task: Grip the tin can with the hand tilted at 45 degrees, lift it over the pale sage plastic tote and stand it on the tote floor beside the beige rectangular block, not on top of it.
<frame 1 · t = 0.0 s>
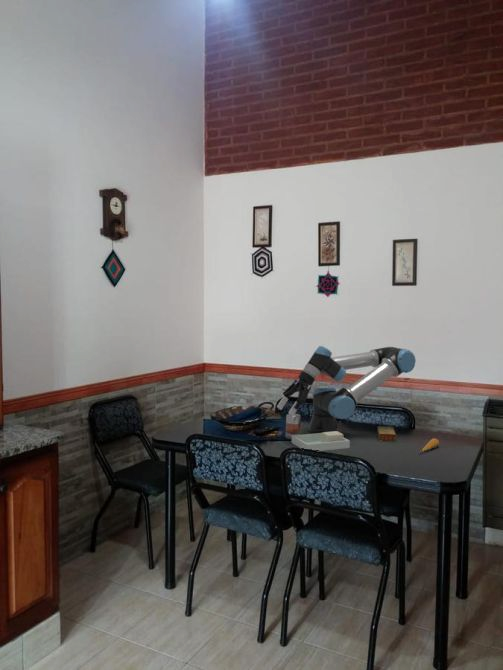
hand: (284, 411, 264), 15 cm above the table, tool tilted 35°, fingers open, 13 cm apart
tote: (320, 447, 259), on the table
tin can: (292, 439, 272), on the table
beige rectangular block: (332, 445, 258), point 1 cm above the table, touching tote
carton: (386, 438, 279), on the table
carrot: (426, 451, 258), on the table
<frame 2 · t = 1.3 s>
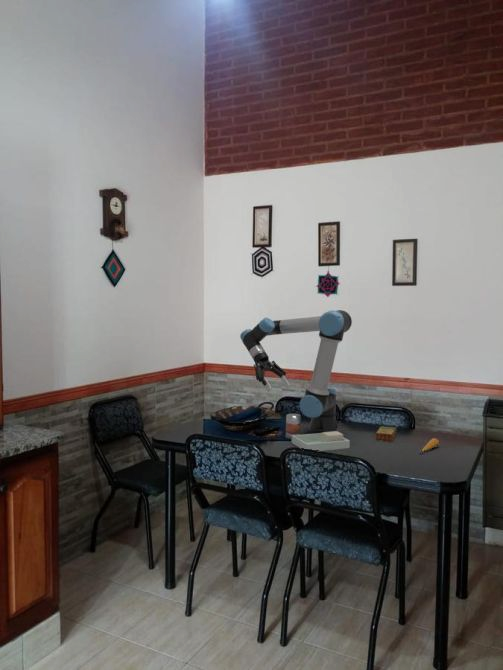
hand: (279, 388, 277), 24 cm above the table, tool tilted 45°, fingers open, 13 cm apart
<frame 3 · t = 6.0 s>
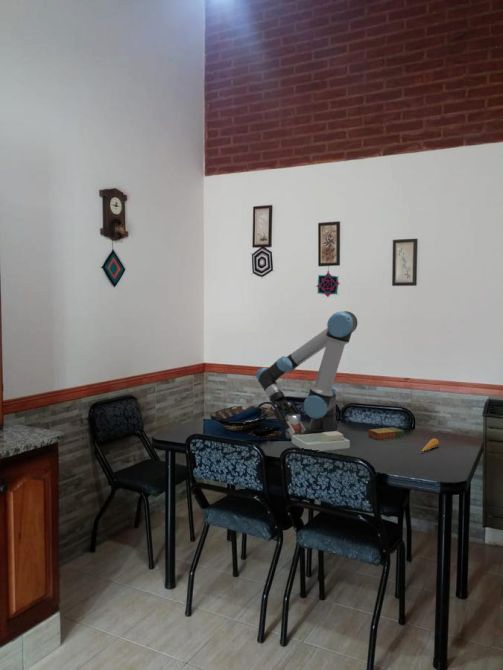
hand: (298, 432, 269), 4 cm above the table, tool tilted 45°, fingers closed on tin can, 7 cm apart
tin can: (292, 439, 272), on the table, touching gripper
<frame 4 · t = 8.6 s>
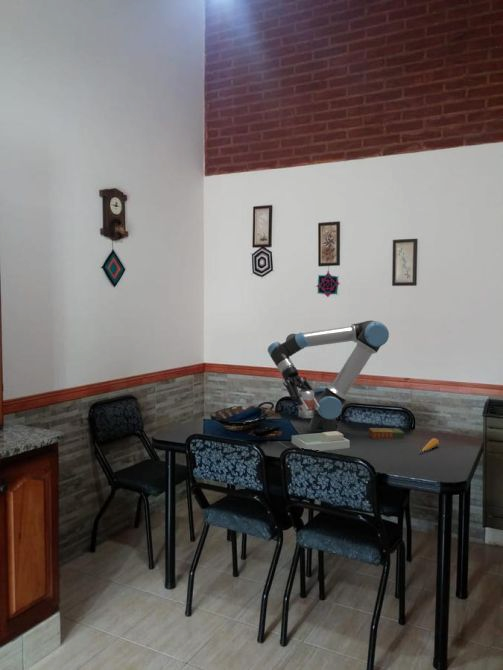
hand: (312, 409, 256), 18 cm above the table, tool tilted 45°, fingers closed on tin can, 7 cm apart
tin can: (306, 416, 259), point 14 cm above the table, touching gripper
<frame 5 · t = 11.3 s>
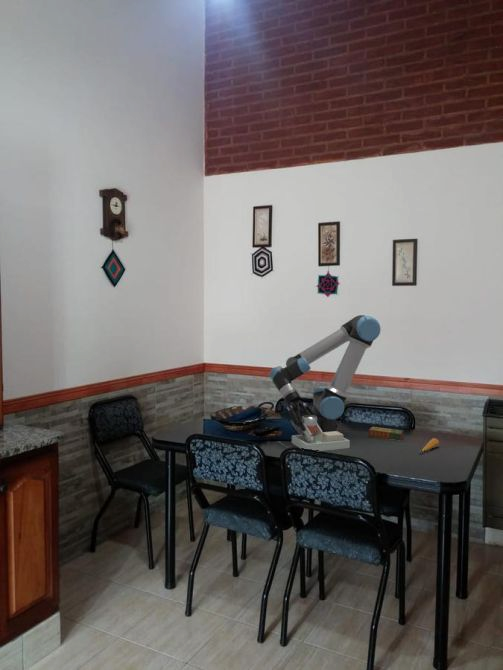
hand: (315, 434, 256), 7 cm above the table, tool tilted 45°, fingers closed on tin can, 7 cm apart
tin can: (308, 441, 259), point 2 cm above the table, touching gripper
beige rectangular block: (332, 445, 258), point 1 cm above the table, touching gripper, tote
when the fingers open (7 cm above the table, at t = 11.4 s): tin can drops 1 cm, resting on tote.
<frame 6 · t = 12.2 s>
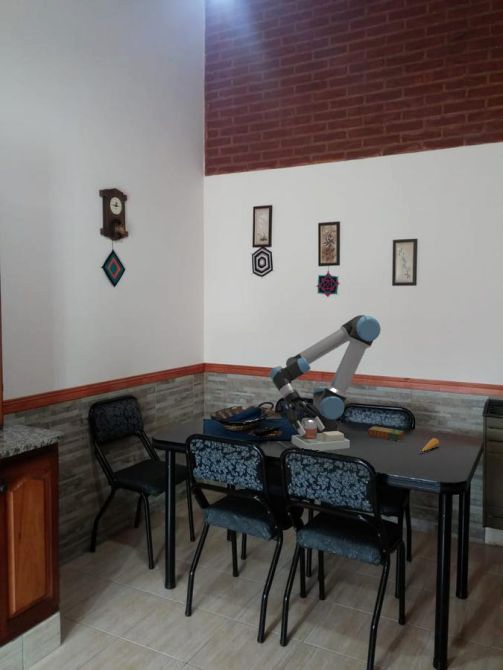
hand: (313, 431, 257), 8 cm above the table, tool tilted 45°, fingers open, 13 cm apart
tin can: (308, 444, 259), point 1 cm above the table, touching tote
beige rectangular block: (332, 445, 258), point 1 cm above the table, touching tote
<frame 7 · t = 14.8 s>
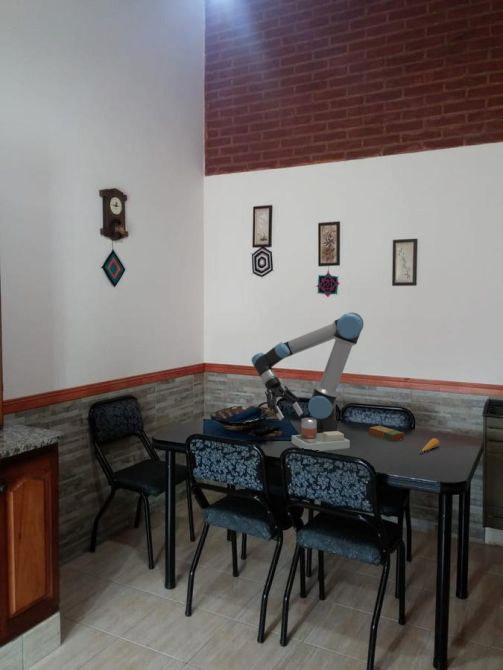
hand: (291, 416, 267), 12 cm above the table, tool tilted 45°, fingers open, 13 cm apart
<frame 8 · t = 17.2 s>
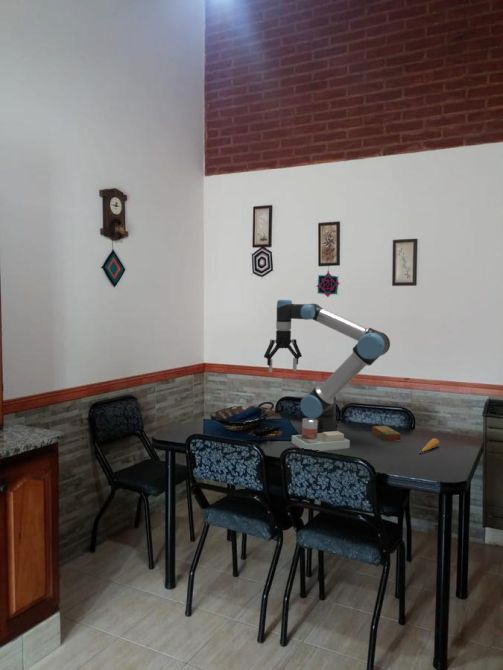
hand: (282, 371, 283), 32 cm above the table, tool pointing down, fingers open, 13 cm apart
at the end: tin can inside the target area on the tote (5.3 cm from its centre), point 1.1 cm above the tote's base; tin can tilted 2°; beige rectangular block moved 0.5 cm from its start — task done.
